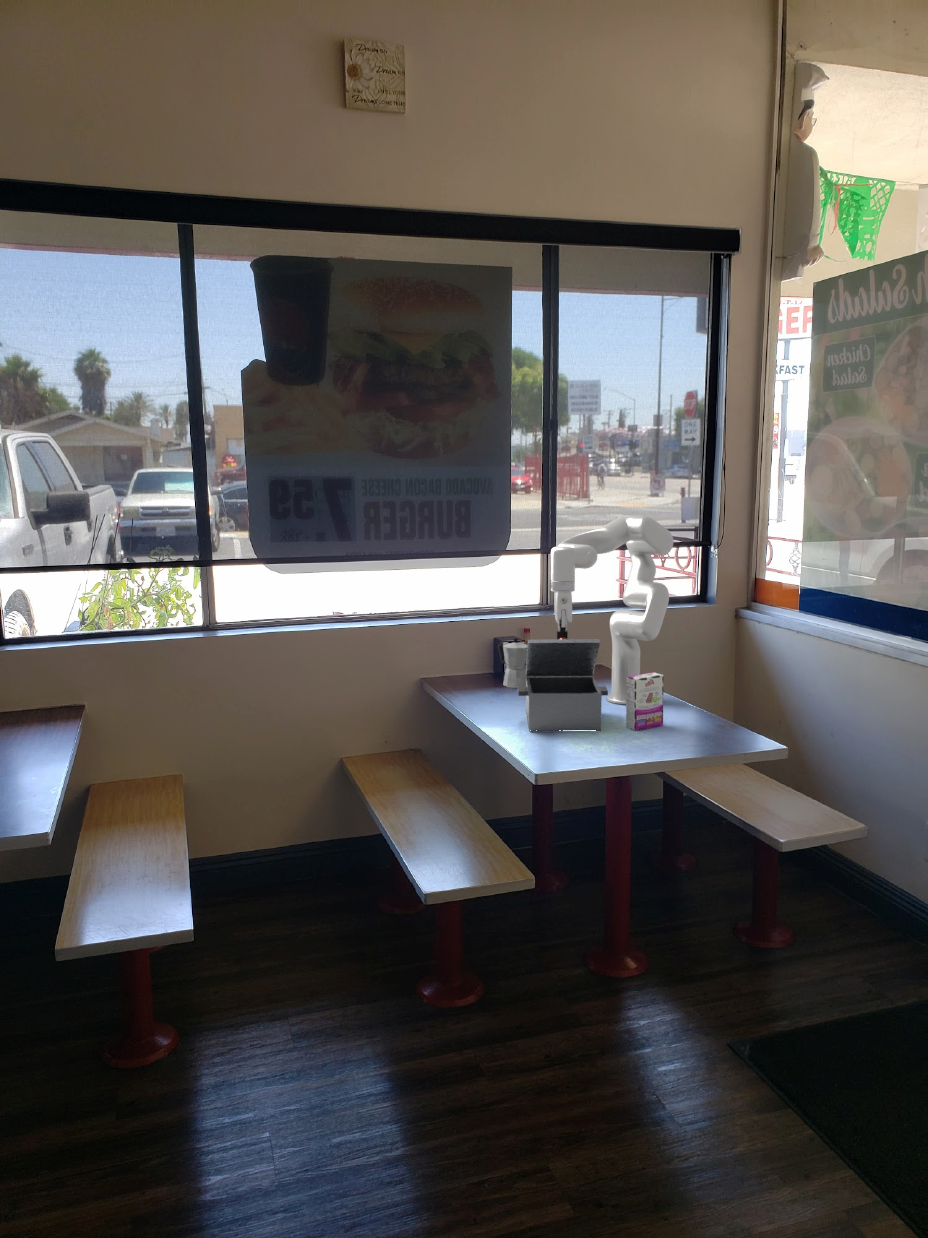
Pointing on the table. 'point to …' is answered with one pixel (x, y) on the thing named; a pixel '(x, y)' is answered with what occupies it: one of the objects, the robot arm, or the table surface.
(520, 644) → the coffeepot
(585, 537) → the robot arm
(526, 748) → the table surface
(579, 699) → the grey metal box
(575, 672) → the cooker lid
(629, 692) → the candy bar box
